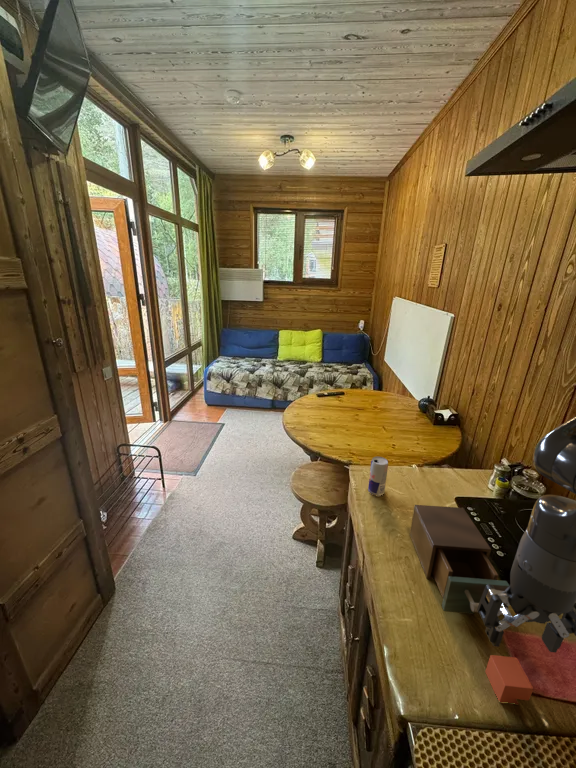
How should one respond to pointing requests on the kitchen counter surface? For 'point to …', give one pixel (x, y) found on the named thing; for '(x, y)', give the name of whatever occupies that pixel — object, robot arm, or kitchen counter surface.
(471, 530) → the cabinet
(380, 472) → the energy drink
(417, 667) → the kitchen counter surface
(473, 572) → the drawer
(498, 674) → the block
